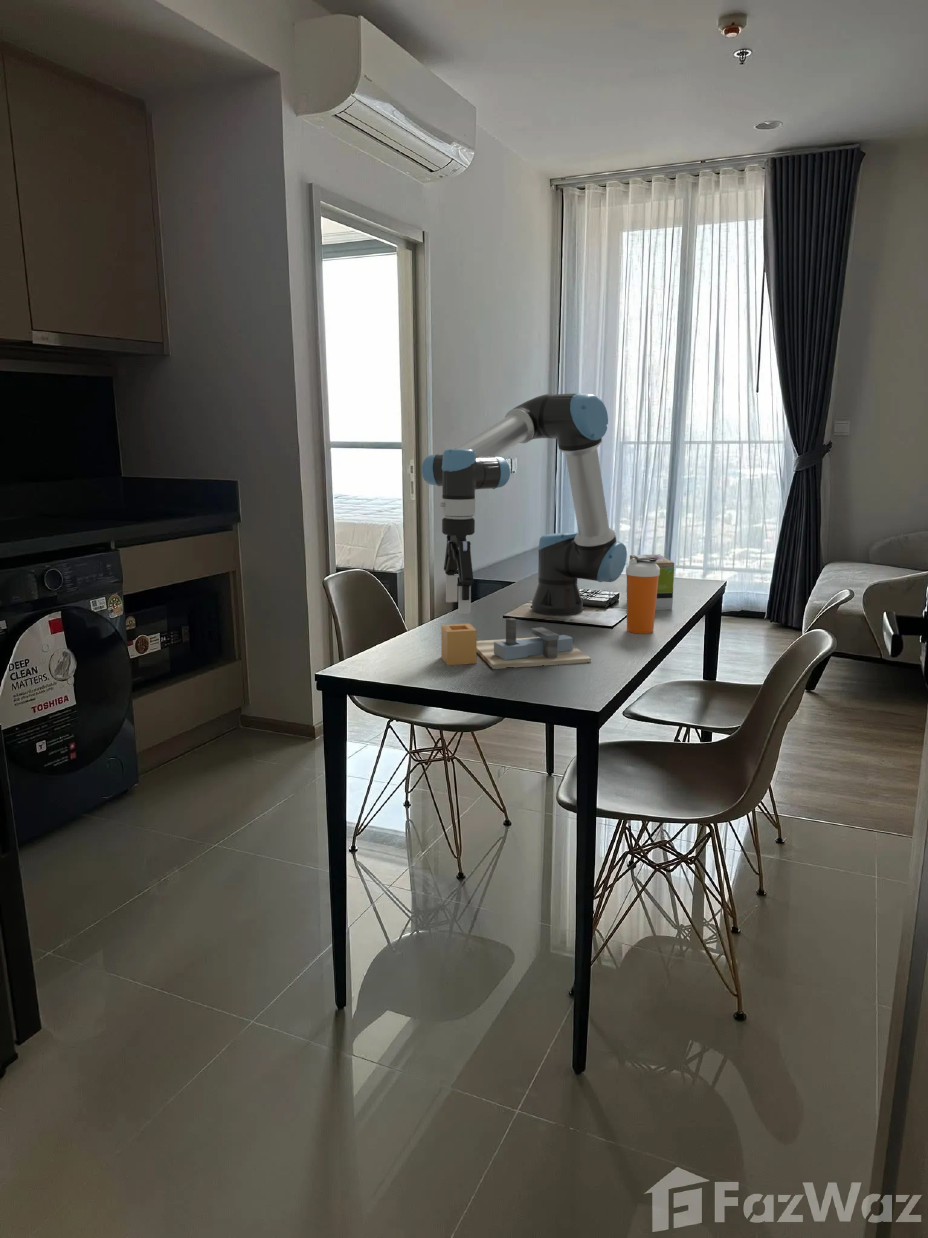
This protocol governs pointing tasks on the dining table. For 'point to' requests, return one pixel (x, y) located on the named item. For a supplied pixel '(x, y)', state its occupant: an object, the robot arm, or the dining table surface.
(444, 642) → the collar
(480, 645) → the pintle base
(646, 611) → the shaker bottle
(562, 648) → the link
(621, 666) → the dining table surface
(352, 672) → the dining table surface
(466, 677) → the dining table surface
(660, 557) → the tea box
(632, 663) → the dining table surface
